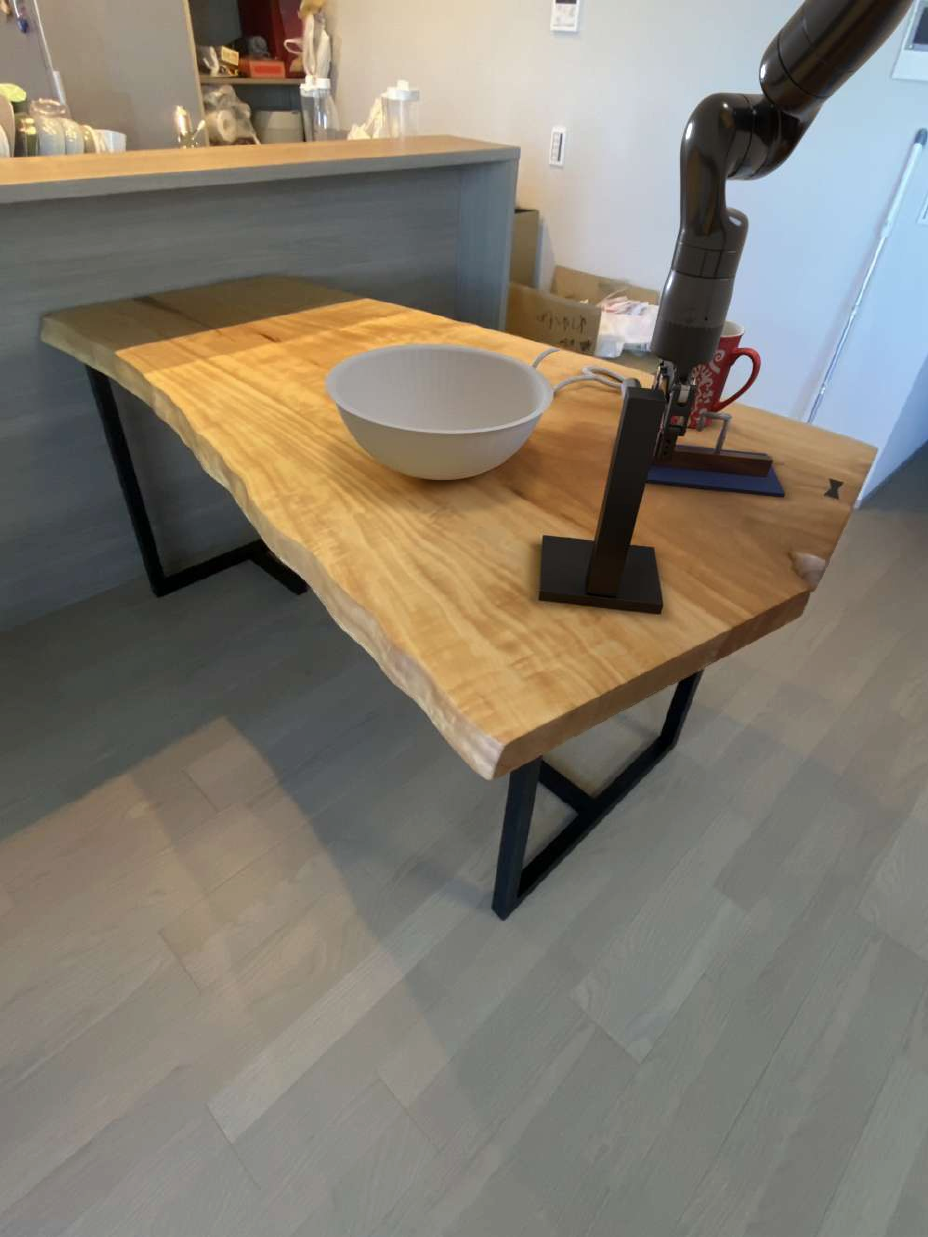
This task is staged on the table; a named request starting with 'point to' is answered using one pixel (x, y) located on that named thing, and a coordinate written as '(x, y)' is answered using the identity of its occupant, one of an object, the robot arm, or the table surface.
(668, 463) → the hanger
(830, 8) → the robot arm
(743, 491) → the mat
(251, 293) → the table surface
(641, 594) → the coat stand
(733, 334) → the mug
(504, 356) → the bowl
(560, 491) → the table surface
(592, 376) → the hook
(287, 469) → the table surface
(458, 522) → the table surface
